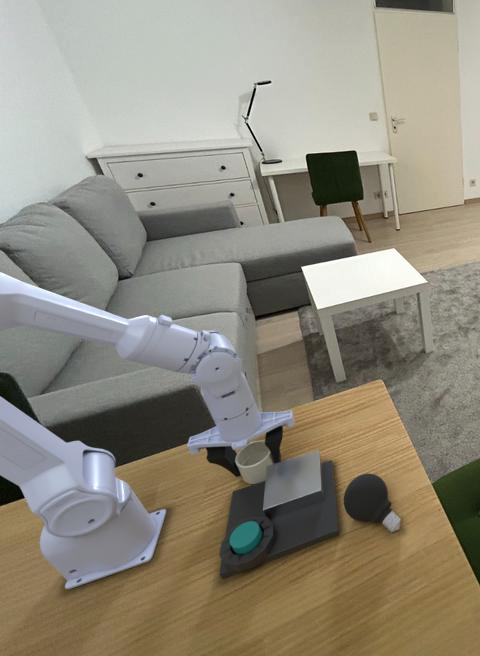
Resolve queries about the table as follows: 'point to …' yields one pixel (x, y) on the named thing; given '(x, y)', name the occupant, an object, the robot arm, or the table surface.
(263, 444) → the bowl
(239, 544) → the tare button
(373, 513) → the light bulb
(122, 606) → the table surface
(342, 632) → the table surface
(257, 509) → the scale
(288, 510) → the plate
